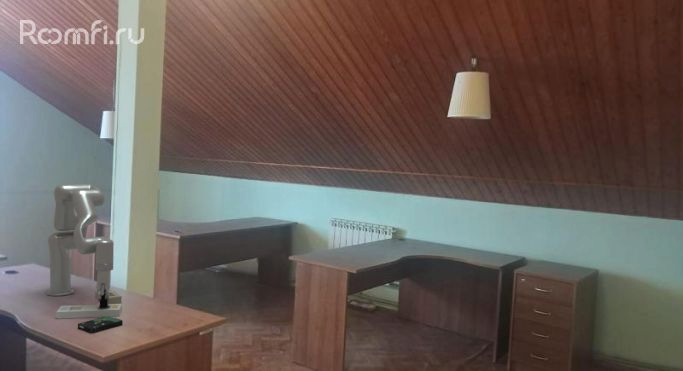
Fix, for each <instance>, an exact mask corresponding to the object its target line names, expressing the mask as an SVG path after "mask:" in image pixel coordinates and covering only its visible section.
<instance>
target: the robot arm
mask: <svg viewBox="0 0 683 371" xmlns="http://www.w3.org/2000/svg"><path fill="white" fill-rule="evenodd" d="M53 196H54V201H55V209H54V218H53V228H54V229H55V230H56V232H52V233H51V234H50V235H49V236H48V238H47V244H48V250H49V289H48V290H47V291H46V295H47V296H50V297H51V296H52V297H61V296H68V295H71V294H74V293H75V289H74V288H72V285H71V284H72V283H71V280H72V279H71V278H72V269H71V268H72V266H71V264H72V263H71V262H72V258H71V256H70V255H69V254H68V253H67V251H71V250H77V251H78V253H79V254H81V255H83V256H84V255H93V254H95V271H96V272H97V275H96V291H95V292H97V293H98V292H99V291H100V300H99V304H100V308H105V307H107V292H108V291H109V290H111V289H110V288H111V282H112V281H111V277H112V276H111V275H112V274H111V271H113V270H114V251H115V250H114V243H115V242H114V240H112V239H110V238H108V237H106V236H92V237H87V234H88V226H89V225H91V224H93V223H95V222H96V221H97V220H98V218H99V216H98V213H97V212H98V211H97V210H96V207H102V205H104V203H105V201H106V200H105V194H104V192H103V191H102V190H101V189H100V188H99V187H97V186H95V185H93V184H90V183H66V184H65V183H63V184H58V185H56V186H55V188H54V191H53ZM104 293H105V294H104ZM108 304H109V298H108Z"/></svg>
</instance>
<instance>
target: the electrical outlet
mask: <svg viewBox="0 0 683 371" xmlns="http://www.w3.org/2000/svg"><path fill="white" fill-rule="evenodd" d="M108 292H109V304H122V295H120V294H119V293H118V292H116V291H112V290H111V289H109V291H108ZM94 298H96V299H97V300H98V301H100V291H99V292H98V293H97V292H96V291H95V292H94Z"/></svg>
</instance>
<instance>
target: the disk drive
mask: <svg viewBox="0 0 683 371" xmlns="http://www.w3.org/2000/svg"><path fill="white" fill-rule="evenodd" d="M123 323H124V322H123V319H120V318H116V317H110V316H108V317H97V318H95V319H91V320H87V321H82V322H80V323H77V329H78V330H80V331H84V332H85V333H89V334H95V333H99V332H102V331H107V330H111V329H114V328H118V327H121V326H123Z"/></svg>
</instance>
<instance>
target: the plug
mask: <svg viewBox="0 0 683 371" xmlns="http://www.w3.org/2000/svg"><path fill="white" fill-rule="evenodd" d="M104 294H105V293H104ZM108 298H109V292H107V307H105V308H100V309H108Z"/></svg>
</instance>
